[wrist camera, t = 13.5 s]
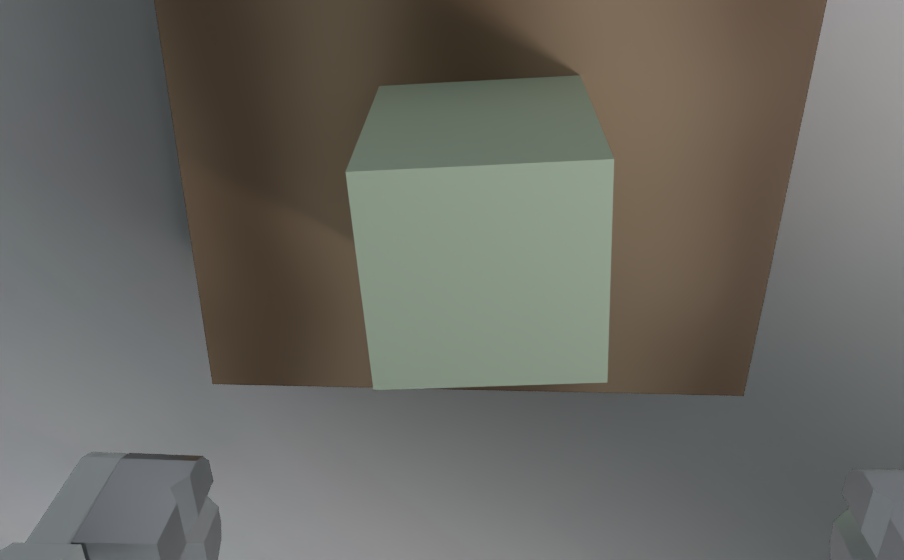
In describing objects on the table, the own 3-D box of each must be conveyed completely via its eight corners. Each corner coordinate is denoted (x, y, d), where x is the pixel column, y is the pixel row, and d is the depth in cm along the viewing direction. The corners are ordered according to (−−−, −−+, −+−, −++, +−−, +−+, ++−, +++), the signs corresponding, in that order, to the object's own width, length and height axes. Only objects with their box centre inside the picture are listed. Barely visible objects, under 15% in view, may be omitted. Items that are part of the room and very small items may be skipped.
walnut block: (769, -132, 24) (852, -122, 19) (697, 297, 30) (743, 395, 25) (209, -138, 24) (134, -130, 19) (258, 289, 31) (212, 384, 25)
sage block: (580, 75, 21) (614, 158, 15) (578, 256, 23) (607, 382, 18) (379, 85, 21) (345, 171, 16) (397, 263, 23) (373, 389, 18)
